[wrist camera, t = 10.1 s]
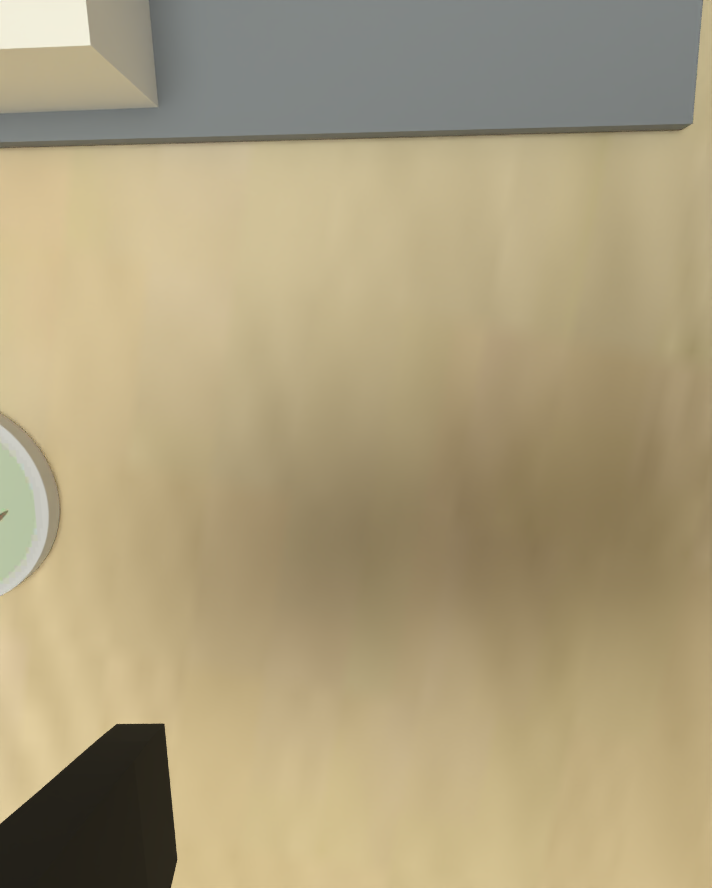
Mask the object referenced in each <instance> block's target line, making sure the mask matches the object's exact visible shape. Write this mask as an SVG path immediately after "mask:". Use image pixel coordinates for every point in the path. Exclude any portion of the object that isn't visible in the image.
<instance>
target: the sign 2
mask: <svg viewBox="0 0 712 888" xmlns="http://www.w3.org/2000/svg"><path fill="white" fill-rule="evenodd" d="M59 517H60V504H59V495H58V489H57V486H56V482H55V479H54V476H53V473H52V471H51V468H50V466H49V464H48V462H47V460H46V459H45V457H44V455H43V454H42V452H41V451H40V449H39V448H38V446H37V445H36V444H35V443H34V441H33V440H32V439H31V438H30V437H29V436H28V435H27V434H26V433H25V432H24V431H23V430H22V429H21V428H20V427H19V426H18V425H16V424H15V423H14V422H13V421H11V420H10V419H8V418H7V417H5V416H4V415H2V414H1V413H0V596H1V595H3V594H5V593H7V592H8V591H10V590H12V589H13V588H14V587H16V586H17V585H18V584H20V583H21V582H22V581H24V580H25V579H26V578H27V577H29V576H30V575H31V574H32V573H33V572H34V571H35V570H36V569H37V568H38V567H39V566H40V565H41V564H42V562H43V561H44V560H45V558H46V557H47V555H48V553H49V552H50V550H51V548H52V545H53V543H54V540H55V538H56V534H57V530H58V525H59Z"/></svg>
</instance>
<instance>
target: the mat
mask: <svg viewBox="0 0 712 888" xmlns="http://www.w3.org/2000/svg"><path fill="white" fill-rule="evenodd" d="M702 5H703V0H149V9H150V20H151V31H152V42H153V53H154V64H155V75H156V86H157V98H158V107H153V108H128V109H102V110H77V111H51V112H26V113H0V148H4V147H41V146H79V145H117V144H155V143H193V142H231V141H268V140H306V139H344V138H382V137H420V136H457V135H495V134H533V133H571V132H609V131H647V130H681V129H683V128H685V127H687V126H689V125H691V124H693V112H694V100H695V88H696V76H697V64H698V52H699V40H700V29H701V17H702Z"/></svg>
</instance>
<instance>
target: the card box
mask: <svg viewBox="0 0 712 888" xmlns="http://www.w3.org/2000/svg"><path fill="white" fill-rule="evenodd" d="M153 107H158V98H157V86H156V75H155V64H154V53H153V42H152V31H151V20H150V9H149V0H0V113H26V112H51V111H77V110H102V109H128V108H153Z"/></svg>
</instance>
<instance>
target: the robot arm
mask: <svg viewBox="0 0 712 888" xmlns="http://www.w3.org/2000/svg"><path fill="white" fill-rule="evenodd" d="M176 863H177V851H176V841H175V830H174V820H173V810H172V799H171V789H170V778H169V768H168V757H167V747H166V736H165V726H164V724H116V725H115V726H114V727H113V728H111V729H110V730H109V731H108V732H106V733H105V734H104V735H103V736H102V737H100V738H99V739H98V740H97V741H96V742H95V743H93V744H92V745H91V746H90V747H89V748H88V749H86V750H85V751H84V752H83V753H82V754H81V755H80V756H78V757H77V758H76V759H75V760H74V761H73V762H72V763H70V764H69V765H68V766H67V767H66V768H65V769H64V770H62V771H61V772H60V773H59V774H58V775H57V776H56V777H54V778H53V779H52V780H51V781H50V782H49V783H47V784H46V785H45V786H44V787H43V788H42V789H41V790H39V791H38V792H37V793H36V794H35V795H34V796H32V797H31V798H30V799H29V800H28V801H27V802H25V803H24V804H23V805H22V806H21V807H20V808H18V809H17V810H16V811H15V812H14V813H13V814H11V815H10V816H9V817H8V818H7V819H5V820H4V821H3V822H2V823H1V824H0V888H171V884H172V880H173V876H174V872H175V867H176Z"/></svg>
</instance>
